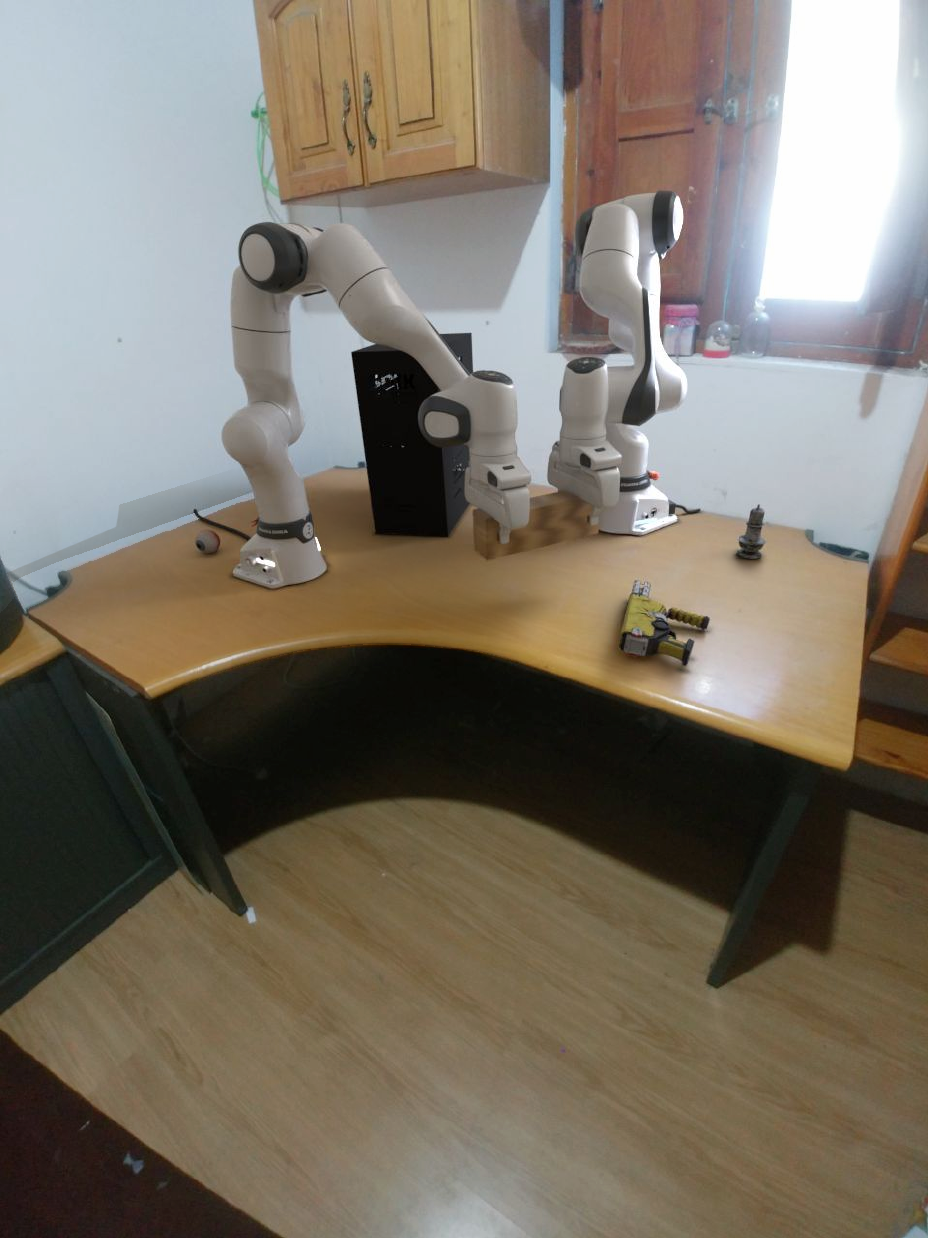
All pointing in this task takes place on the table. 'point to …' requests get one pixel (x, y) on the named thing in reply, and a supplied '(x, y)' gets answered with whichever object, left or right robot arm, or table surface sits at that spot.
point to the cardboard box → (408, 443)
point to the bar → (535, 526)
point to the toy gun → (655, 627)
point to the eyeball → (207, 541)
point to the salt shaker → (752, 535)
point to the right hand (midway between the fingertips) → (578, 516)
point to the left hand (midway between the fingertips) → (494, 536)
